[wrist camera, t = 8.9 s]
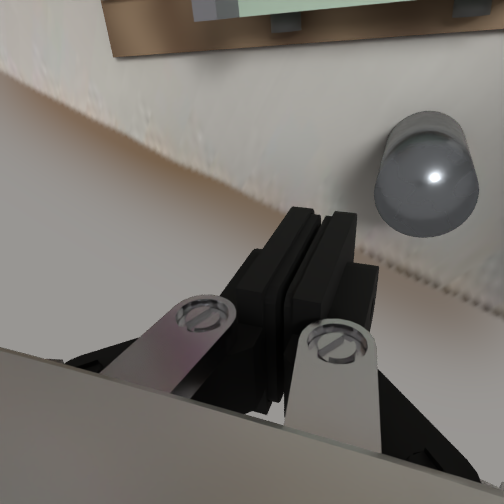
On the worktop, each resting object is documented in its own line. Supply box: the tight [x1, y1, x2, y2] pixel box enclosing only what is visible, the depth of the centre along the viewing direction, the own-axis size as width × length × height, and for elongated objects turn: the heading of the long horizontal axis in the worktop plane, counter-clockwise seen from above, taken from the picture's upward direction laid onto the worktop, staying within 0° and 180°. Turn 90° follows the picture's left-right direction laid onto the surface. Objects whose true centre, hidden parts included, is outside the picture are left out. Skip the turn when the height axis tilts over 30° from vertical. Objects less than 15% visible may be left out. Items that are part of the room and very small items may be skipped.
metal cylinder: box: [374, 111, 479, 237], centre depth 26 cm, size 5×5×8 cm
